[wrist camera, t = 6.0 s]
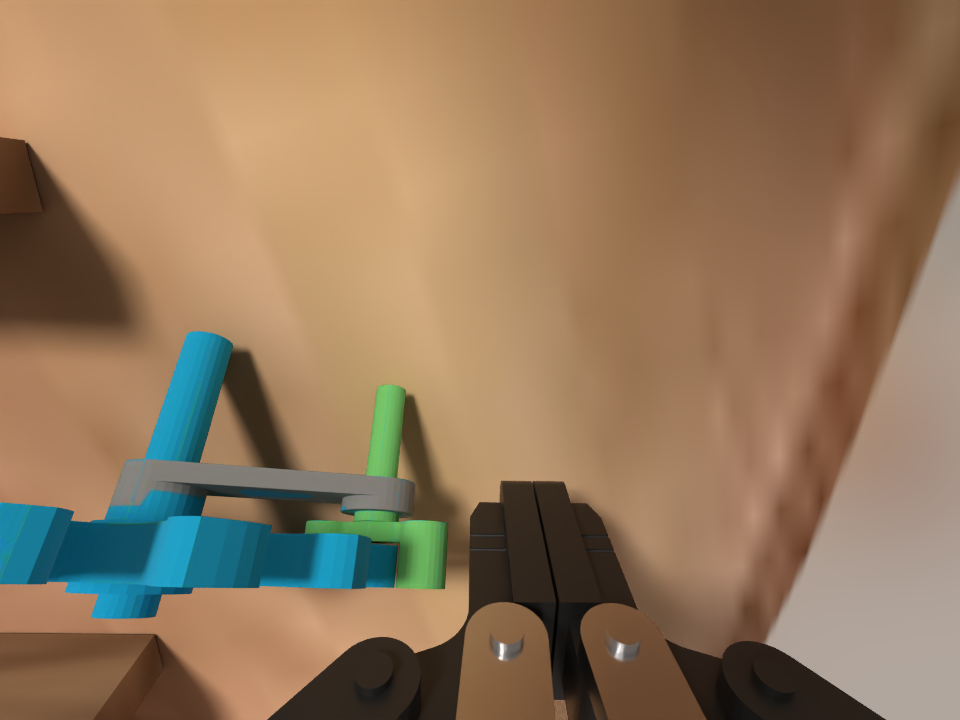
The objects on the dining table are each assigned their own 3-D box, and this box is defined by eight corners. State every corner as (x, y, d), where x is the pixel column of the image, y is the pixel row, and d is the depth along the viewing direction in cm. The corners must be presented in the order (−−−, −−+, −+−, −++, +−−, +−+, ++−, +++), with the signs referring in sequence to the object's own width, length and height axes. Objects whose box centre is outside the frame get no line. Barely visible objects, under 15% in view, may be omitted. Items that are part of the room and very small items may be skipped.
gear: (-10, 599, 12) (-944, 662, 3) (80, 389, 15) (-323, 112, 6) (412, 606, 15) (506, 653, 6) (426, 424, 17) (507, 262, 8)
